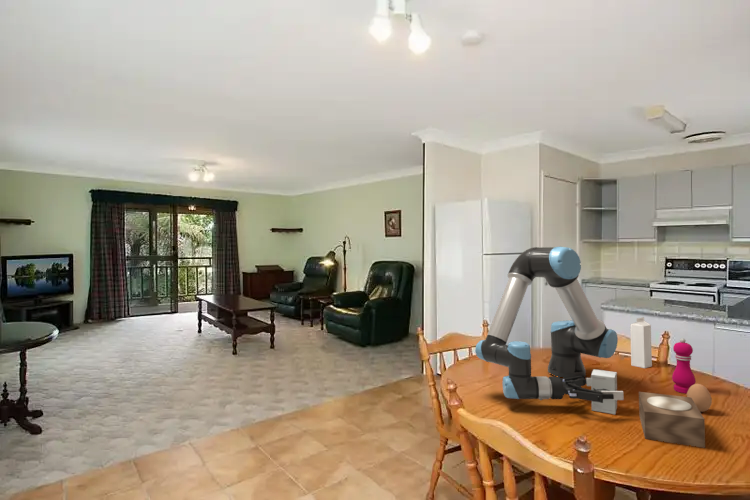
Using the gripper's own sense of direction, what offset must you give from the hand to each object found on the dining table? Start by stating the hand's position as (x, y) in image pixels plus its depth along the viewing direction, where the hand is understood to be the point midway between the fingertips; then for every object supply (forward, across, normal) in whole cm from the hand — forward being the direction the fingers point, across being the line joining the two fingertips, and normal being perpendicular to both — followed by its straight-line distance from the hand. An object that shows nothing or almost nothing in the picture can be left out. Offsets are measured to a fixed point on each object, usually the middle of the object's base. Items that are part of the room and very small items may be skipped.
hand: (614, 388), depth 145 cm
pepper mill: (+33, -20, -7) cm, 39 cm away
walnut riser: (+9, +16, -7) cm, 20 cm away
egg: (+26, 0, -7) cm, 28 cm away
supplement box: (-3, 0, -7) cm, 8 cm away
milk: (+33, -54, -7) cm, 64 cm away
